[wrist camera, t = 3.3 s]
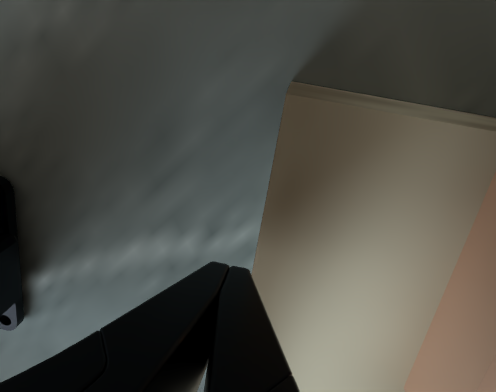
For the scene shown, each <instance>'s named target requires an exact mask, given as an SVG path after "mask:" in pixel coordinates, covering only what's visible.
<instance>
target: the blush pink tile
mask: <svg viewBox="0 0 496 392" xmlns="http://www.w3.org/2000/svg"><path fill="white" fill-rule="evenodd" d="M404 390H405V392H496V172H495V174H494V176H493V179H492V181H491V183H490V186H489V188H488V190H487V193H486V195H485V197H484V200H483V202H482V204H481V207H480V209H479V212H478V214H477V216H476V219H475V221H474V223H473V226H472V228H471V230H470V233H469V235H468V237H467V240H466V242H465V244H464V247H463V249H462V252H461V254H460V256H459V259H458V261H457V263H456V266H455V268H454V270H453V273H452V275H451V277H450V280H449V282H448V284H447V287H446V289H445V292H444V294H443V296H442V299H441V301H440V303H439V306H438V308H437V310H436V313H435V315H434V317H433V320H432V322H431V324H430V327H429V329H428V332H427V334H426V336H425V339H424V341H423V343H422V346H421V348H420V350H419V353H418V355H417V357H416V360H415V362H414V364H413V367H412V369H411V371H410V374H409V376H408V379H407V381H406V383H405V386H404Z"/></svg>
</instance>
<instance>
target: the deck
mask: <svg viewBox="0 0 496 392" xmlns="http://www.w3.org/2000/svg"><path fill="white" fill-rule="evenodd" d="M495 172H496V118H494V117H488V116H483V115H477V114H472V113H466V112H460V111H455V110H449V109H444V108H438V107H432V106H427V105H421V104H416V103H410V102H404V101H399V100H393V99H388V98H382V97H377V96H371V95H365V94H360V93H354V92H349V91H343V90H337V89H332V88H326V87H321V86H315V85H309V84H304V83H298V82H293V81H291V83H290V85H289V88H288V90H287V93H286V97H285V103H284V108H283V113H282V118H281V123H280V129H279V134H278V139H277V144H276V150H275V155H274V160H273V165H272V170H271V176H270V181H269V186H268V191H267V197H266V202H265V207H264V212H263V217H262V223H261V228H260V233H259V238H258V244H257V249H256V254H255V259H254V264H253V270H252V275H251V276H252V278H253V280H254V283H255V285H256V288H257V290H258V292H259V295H260V297H261V300H262V302H263V304H264V307H265V309H266V312H267V314H268V316H269V319H270V321H271V324H272V326H273V328H274V331H275V333H276V336H277V338H278V340H279V343H280V345H281V348H282V350H283V352H284V355H285V357H286V360H287V362H288V364H289V367H290V369H291V372H292V376H293V377H294V378H295V381H296V383H297V386H298V388H299V390H300V392H405V390H404V386H405V383H406V381H407V379H408V376H409V374H410V371H411V369H412V367H413V364H414V362H415V360H416V357H417V355H418V353H419V350H420V348H421V346H422V343H423V341H424V339H425V336H426V334H427V332H428V329H429V327H430V324H431V322H432V320H433V317H434V315H435V313H436V310H437V308H438V306H439V303H440V301H441V299H442V296H443V294H444V292H445V289H446V287H447V284H448V282H449V280H450V277H451V275H452V273H453V270H454V268H455V266H456V263H457V261H458V259H459V256H460V254H461V252H462V249H463V247H464V244H465V242H466V240H467V237H468V235H469V233H470V230H471V228H472V226H473V223H474V221H475V219H476V216H477V214H478V212H479V209H480V207H481V204H482V202H483V200H484V197H485V195H486V193H487V190H488V188H489V186H490V183H491V181H492V179H493V176H494V174H495Z"/></svg>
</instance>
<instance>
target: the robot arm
mask: <svg viewBox="0 0 496 392" xmlns="http://www.w3.org/2000/svg"><path fill="white" fill-rule="evenodd" d="M23 319H24V312H23V300H22V285H21V273H20V260H19V247H18V236H17V223H16V210H15V197H14V189H13V186H12V184H11V183H10V181H8V180H7V179H6V178H5V177H2V176H0V329H3V330H10V331H11V330H14V329H15V328H16V327H17V326H18V325H19V324H20V323H21V322H22V321H23ZM207 364H208V366H207ZM206 367H207V372H206V379H205V386H204V392H300V390H299V388H298V386H297V383H296V381H295V378H294V377H293V376H292V372H291V369H290V367H289V364H288V362H287V360H286V357H285V355H284V352H283V350H282V348H281V345H280V343H279V340H278V338H277V336H276V333H275V331H274V328H273V326H272V324H271V321H270V319H269V316H268V314H267V312H266V309H265V307H264V304H263V302H262V300H261V297H260V295H259V292H258V290H257V288H256V285H255V283H254V280H253V278H252V276H251V273H250V271H249V270H248V269H246V268H242V267H237V266H231V267H229V265H227V264H223V263H218V262H210V263H208V264H206V265H205V266H203V267H202V268H200V269H198V270H197V271H195V272H193V273H192V274H190V275H188V276H187V277H185V278H183V279H182V280H180V281H178V282H177V283H175V284H174V285H172V286H170V287H169V288H167V289H165V290H164V291H162V292H160V293H159V294H157V295H155V296H154V297H152V298H150V299H149V300H147V301H145V302H144V303H142V304H141V305H139V306H137V307H136V308H134V309H132V310H131V311H129V312H127V313H126V314H124V315H122V316H121V317H119V318H117V319H116V320H114V321H113V322H111V323H109V324H108V325H106V326H104V327H103V328H101V329H100V331H96V332H94V333H92V334H91V335H89V336H88V337H86V338H84V339H83V340H81V341H79V342H77V343H76V344H74V345H72V346H70V347H69V348H67V349H65V350H63V351H62V352H60V353H58V354H56V355H55V356H53V357H51V358H49V359H47V360H45V361H43V362H41V363H39V364H37V365H35V366H33V367H31V368H29V369H28V370H26V371H24V372H22V373H20V374H18V375H16V376H14V377H11V378H9V379H7V380H5V381H3V382H1V383H0V392H197V390H198V388H199V385H200V383H201V380H202V378H203V375H204V372H205V370H206Z"/></svg>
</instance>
